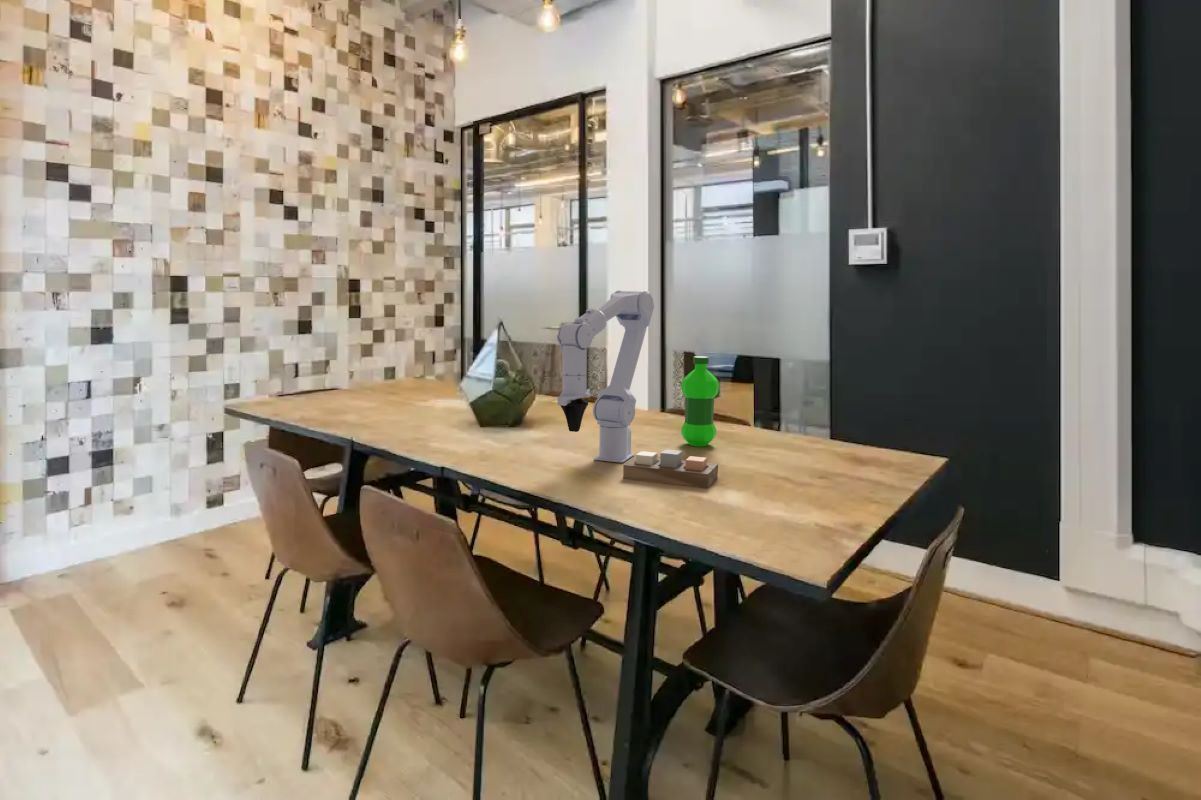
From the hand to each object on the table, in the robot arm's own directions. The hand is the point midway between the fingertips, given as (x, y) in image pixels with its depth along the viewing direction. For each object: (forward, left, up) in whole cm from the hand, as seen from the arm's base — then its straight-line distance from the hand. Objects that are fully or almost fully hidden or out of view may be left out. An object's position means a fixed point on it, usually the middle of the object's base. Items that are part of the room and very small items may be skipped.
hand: (574, 431), depth 170 cm
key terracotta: (-4, +29, -8) cm, 30 cm away
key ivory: (-4, +17, -8) cm, 19 cm away
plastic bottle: (-42, +20, -10) cm, 48 cm away
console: (-4, +23, -10) cm, 25 cm away
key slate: (-4, +23, -7) cm, 24 cm away
